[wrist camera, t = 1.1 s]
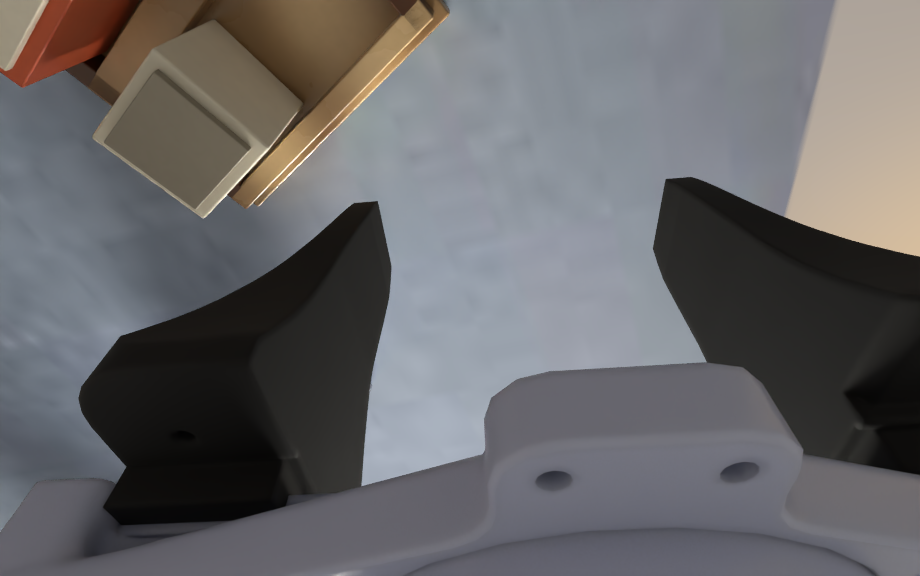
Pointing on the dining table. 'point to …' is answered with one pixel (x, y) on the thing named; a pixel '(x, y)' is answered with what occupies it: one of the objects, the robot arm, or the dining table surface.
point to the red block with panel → (56, 34)
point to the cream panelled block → (198, 116)
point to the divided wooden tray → (281, 60)
